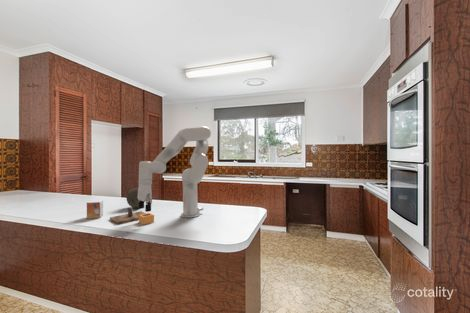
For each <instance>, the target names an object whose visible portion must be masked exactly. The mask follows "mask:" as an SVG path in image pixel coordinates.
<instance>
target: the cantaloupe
mask: <svg viewBox="0 0 470 313" xmlns="http://www.w3.org/2000/svg"><path fill="white" fill-rule="evenodd" d="M125 197H126V202H127V204H128V206H130V207H132V209H133V208H134V209H139V200H138V188H137V187H135V188H131V189H129V190H128V191H127V194H126V196H125ZM143 202H144V203H146V202H145V201H143Z"/></svg>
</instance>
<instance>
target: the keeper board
mask: <svg viewBox="0 0 470 313" xmlns="http://www.w3.org/2000/svg"><path fill="white" fill-rule="evenodd" d="M146 213H147V212H144V211H141V210H140V211H137V212H135V211H134V212H133V207H131V206H130V207H127V213H126V214H121V215H115V216H111V217H109V221H111V222H113V223H114V224H115V225H116V226H117V225H123V224H128V223H131V222H136V221H139V215H141V214H146Z"/></svg>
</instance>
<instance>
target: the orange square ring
mask: <svg viewBox="0 0 470 313" xmlns="http://www.w3.org/2000/svg"><path fill="white" fill-rule="evenodd" d="M145 213H146V214H141V215H139V220H138V223H139V224H141V225H147V224H148V225H149V224H151V223H155V215H154V214H153V213H151V212H145Z"/></svg>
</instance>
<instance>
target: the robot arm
mask: <svg viewBox="0 0 470 313" xmlns="http://www.w3.org/2000/svg"><path fill="white" fill-rule="evenodd" d="M211 132H212V131H211V129H210V128H209V127H207V126H199V127H197V126H196V127H188V128H183V129H181V130H179V131H178V132H177V133H176V134H175V136H174V137H173V138H172V140H171V141H170V142H169V143H168V144H167V145H166V146H165V147H164V149H163V150H162V151H160V152H159V154H158V155H157V156H156V158H154V159H153V161H149V160H146V161H145V160H144V161H143V160H141V161H139V163H138V200H139V208H138V209H139V210H140V209H144V211H145V213H149V212H152V203H153V196H152V195H153V193H152V191H153V190H152V184H153V174H163V173H165V172H166V170H167V163H168V162H169V161H170V160H171V159H172V158H174V157H175V156H177V155H178V154H180V152H181V151H182V149H183V148H184V147H185V146H186V145H187V143H188V142H196V143H195V147H194V149H193V152H192V155H191V156H190V157H189V158H190V159H189V165H191V167H189V168H186V169H184V170H183V171H182V174H181V181H182V204H183V206H182V209H183V212H181V213H180V216H181V218H184V219H186V218H187V219H191V218H197V217H199V216H200V215H201V213H200V212H201V211H203V210H204V207H198V203H199V202H198V184H200V182H201V181H202V180H203V177H204V175H205V173H206V170H207V168H208V167H209V166H208V165H209V158H208V156H207V153H208V151H209V141H208V139H209V138H210V137H211V135H212V133H211ZM143 201H145V202H143Z"/></svg>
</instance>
